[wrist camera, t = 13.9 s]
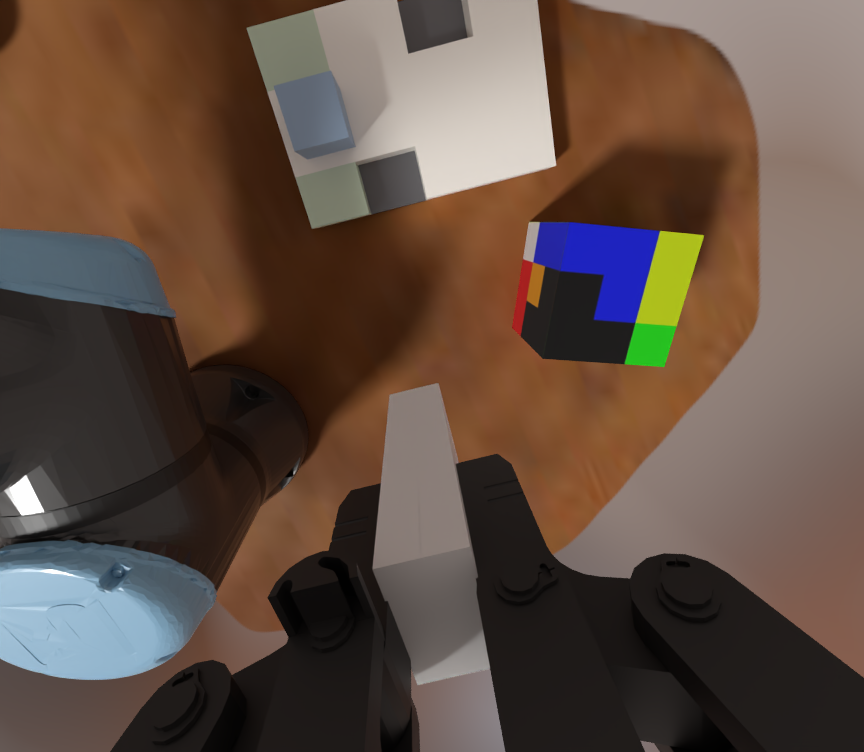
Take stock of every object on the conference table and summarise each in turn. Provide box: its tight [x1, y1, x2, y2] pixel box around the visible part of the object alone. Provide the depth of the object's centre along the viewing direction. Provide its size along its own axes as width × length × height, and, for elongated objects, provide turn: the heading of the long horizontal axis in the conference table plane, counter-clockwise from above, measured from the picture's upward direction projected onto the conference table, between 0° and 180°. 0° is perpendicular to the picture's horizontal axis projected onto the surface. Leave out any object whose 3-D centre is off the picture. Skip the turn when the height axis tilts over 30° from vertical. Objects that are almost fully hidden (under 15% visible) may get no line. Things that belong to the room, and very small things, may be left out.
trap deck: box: [247, 0, 556, 229], centre depth 33 cm, size 21×14×2 cm, turn 103°
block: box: [274, 71, 356, 160], centre depth 30 cm, size 4×4×4 cm
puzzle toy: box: [512, 222, 704, 367], centre depth 35 cm, size 10×10×10 cm
